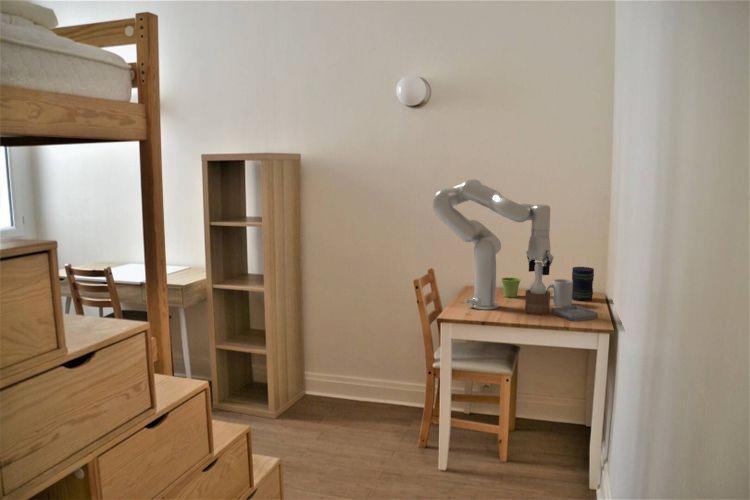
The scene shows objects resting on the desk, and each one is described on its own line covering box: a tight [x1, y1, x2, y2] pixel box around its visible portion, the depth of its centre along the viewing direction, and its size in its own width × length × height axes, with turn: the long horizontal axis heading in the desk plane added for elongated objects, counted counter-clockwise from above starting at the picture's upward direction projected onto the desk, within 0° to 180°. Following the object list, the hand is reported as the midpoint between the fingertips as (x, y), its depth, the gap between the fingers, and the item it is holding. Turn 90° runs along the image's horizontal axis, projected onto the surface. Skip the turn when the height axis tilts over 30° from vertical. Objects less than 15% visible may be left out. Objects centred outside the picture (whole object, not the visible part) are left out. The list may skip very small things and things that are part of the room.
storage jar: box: [571, 266, 595, 303], centre depth 281 cm, size 10×10×15 cm
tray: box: [551, 305, 599, 322], centre depth 251 cm, size 13×13×2 cm
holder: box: [524, 289, 551, 316], centre depth 257 cm, size 10×10×9 cm
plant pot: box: [500, 277, 522, 299], centre depth 287 cm, size 9×9×9 cm
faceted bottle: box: [529, 261, 547, 294], centre depth 256 cm, size 6×6×22 cm
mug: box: [546, 278, 573, 307], centre depth 271 cm, size 12×8×11 cm
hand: (538, 273), depth 255 cm, fingers open, 9 cm apart
